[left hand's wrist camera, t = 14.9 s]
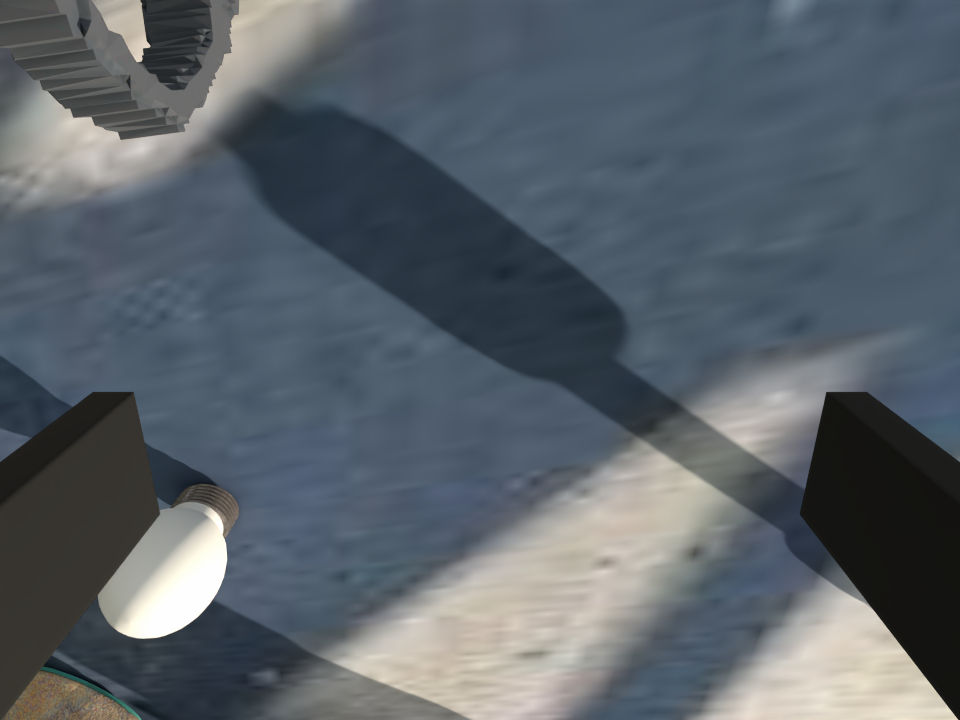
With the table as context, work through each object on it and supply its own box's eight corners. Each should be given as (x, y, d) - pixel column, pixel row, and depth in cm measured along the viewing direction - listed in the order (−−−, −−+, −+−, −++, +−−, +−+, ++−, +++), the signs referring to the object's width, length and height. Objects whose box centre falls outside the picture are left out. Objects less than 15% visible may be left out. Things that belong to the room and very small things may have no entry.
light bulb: (267, 483, 45) (205, 596, 35) (242, 556, 47) (177, 682, 37) (171, 451, 44) (78, 557, 34) (150, 527, 47) (58, 647, 36)
